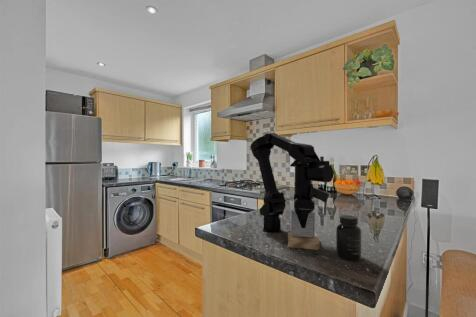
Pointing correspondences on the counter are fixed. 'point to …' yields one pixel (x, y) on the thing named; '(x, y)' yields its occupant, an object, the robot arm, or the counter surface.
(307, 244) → the oak block
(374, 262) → the counter surface
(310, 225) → the medicine box
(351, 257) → the supplement bottle
